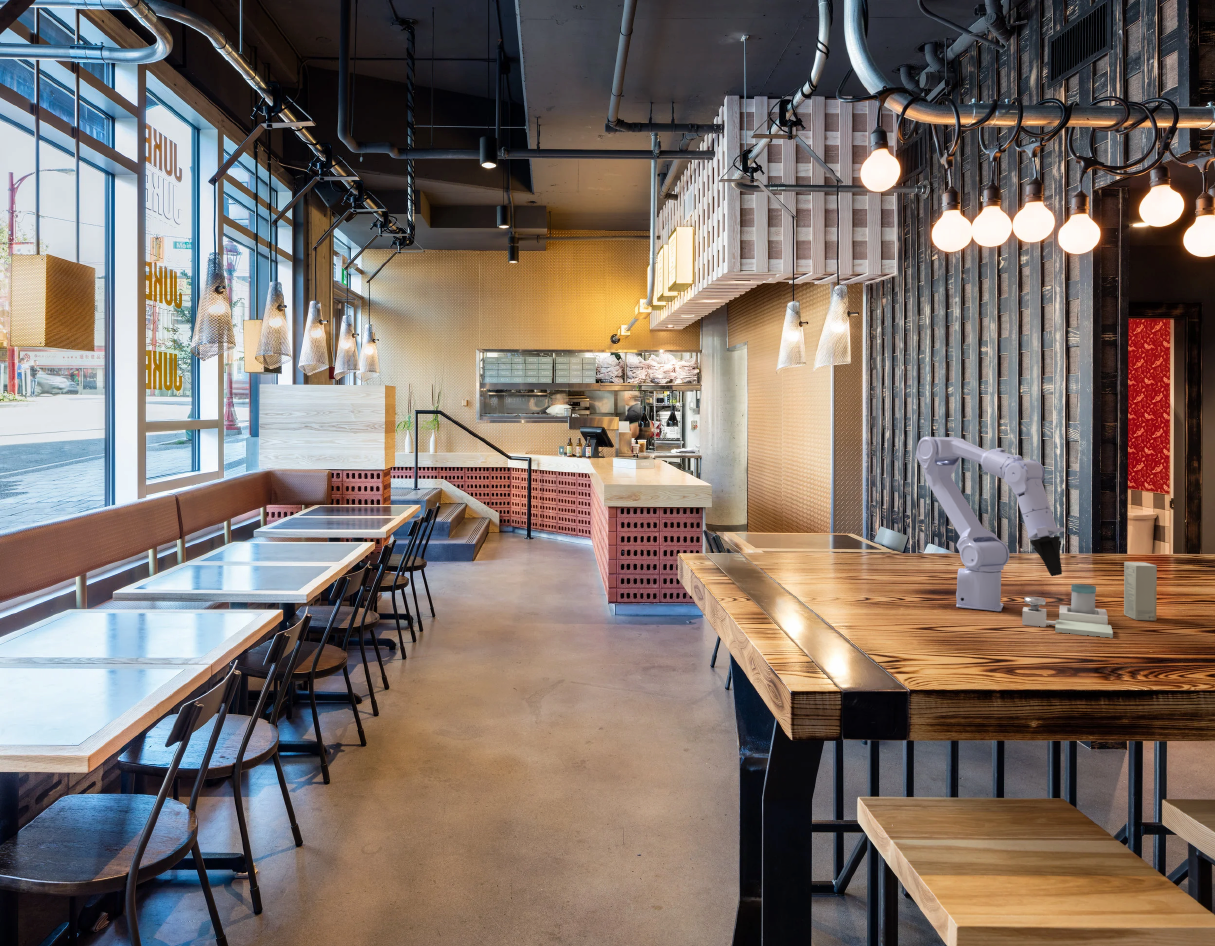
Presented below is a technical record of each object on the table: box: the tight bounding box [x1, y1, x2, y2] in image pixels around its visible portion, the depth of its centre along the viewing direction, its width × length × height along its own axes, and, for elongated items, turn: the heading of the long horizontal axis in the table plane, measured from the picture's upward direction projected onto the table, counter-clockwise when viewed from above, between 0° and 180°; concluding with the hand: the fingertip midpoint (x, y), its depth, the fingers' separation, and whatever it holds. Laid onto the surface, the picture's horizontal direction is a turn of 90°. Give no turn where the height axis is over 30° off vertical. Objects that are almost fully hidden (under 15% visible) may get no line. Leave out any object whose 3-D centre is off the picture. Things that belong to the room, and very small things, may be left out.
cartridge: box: [1070, 583, 1097, 615], centre depth 172 cm, size 5×5×8 cm
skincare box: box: [1123, 561, 1158, 622], centre depth 177 cm, size 6×4×12 cm
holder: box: [1021, 604, 1109, 628], centre depth 172 cm, size 16×14×3 cm
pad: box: [1054, 619, 1114, 639], centre depth 165 cm, size 10×8×1 cm
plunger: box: [1023, 596, 1047, 611], centre depth 171 cm, size 4×4×4 cm
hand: (1056, 573), depth 170 cm, fingers open, 7 cm apart
